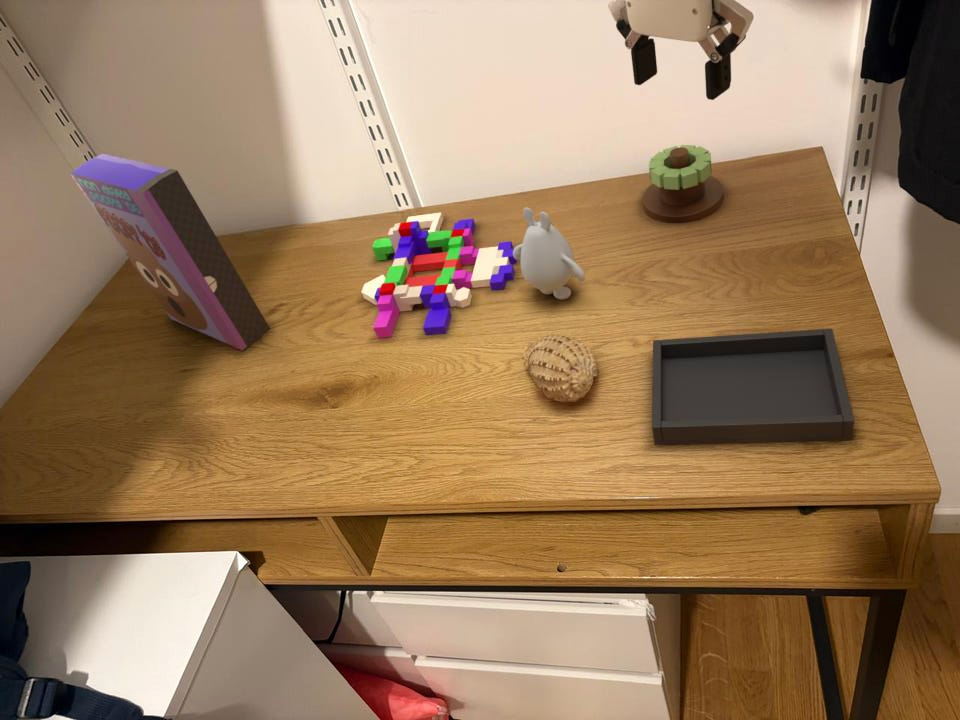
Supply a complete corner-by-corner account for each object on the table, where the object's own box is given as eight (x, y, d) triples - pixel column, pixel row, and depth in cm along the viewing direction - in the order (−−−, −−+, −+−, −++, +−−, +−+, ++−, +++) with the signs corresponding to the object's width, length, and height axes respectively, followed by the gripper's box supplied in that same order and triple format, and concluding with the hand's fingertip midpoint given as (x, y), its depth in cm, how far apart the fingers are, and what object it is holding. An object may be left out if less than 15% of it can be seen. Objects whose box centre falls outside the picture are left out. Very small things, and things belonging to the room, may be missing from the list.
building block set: (502, 328, 86) (493, 299, 83) (343, 341, 92) (329, 314, 89) (527, 208, 104) (520, 180, 101) (391, 225, 109) (381, 199, 106)
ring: (710, 153, 95) (709, 140, 93) (712, 185, 89) (712, 172, 88) (650, 161, 97) (649, 149, 96) (650, 193, 91) (648, 180, 90)
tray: (830, 347, 72) (832, 328, 70) (851, 440, 64) (854, 421, 62) (655, 357, 77) (652, 339, 75) (654, 445, 69) (651, 427, 67)
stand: (721, 174, 98) (719, 125, 93) (725, 217, 91) (724, 167, 86) (643, 184, 101) (638, 137, 96) (642, 227, 94) (636, 178, 89)
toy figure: (606, 291, 86) (591, 204, 78) (574, 323, 84) (555, 236, 76) (537, 268, 93) (517, 185, 85) (505, 297, 90) (481, 214, 82)
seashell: (520, 409, 80) (582, 414, 72) (491, 366, 78) (551, 365, 70) (563, 364, 83) (627, 363, 75) (536, 322, 81) (598, 316, 73)
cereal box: (171, 319, 106) (68, 172, 90) (197, 299, 108) (101, 152, 92) (243, 351, 96) (141, 191, 80) (270, 328, 98) (176, 168, 82)
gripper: (775, -104, 65) (772, 83, 76) (625, -102, 76) (642, 60, 88) (721, -72, 62) (727, 117, 74) (574, -75, 74) (598, 89, 85)
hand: (680, 86), depth 81 cm, fingers open, 9 cm apart
